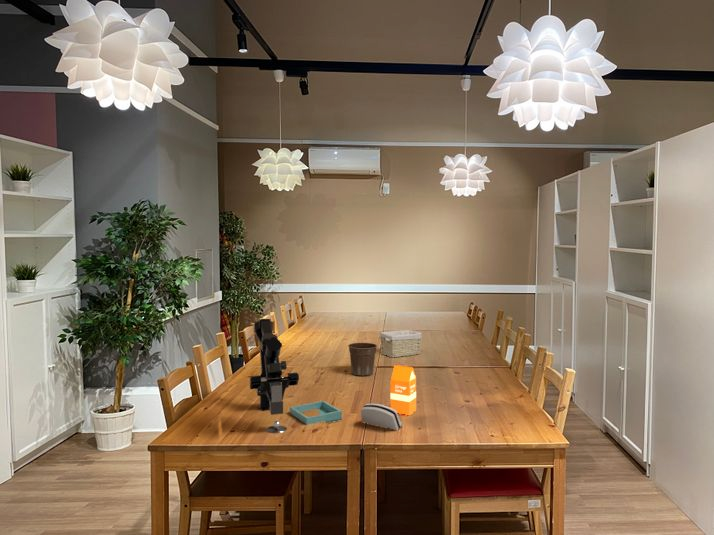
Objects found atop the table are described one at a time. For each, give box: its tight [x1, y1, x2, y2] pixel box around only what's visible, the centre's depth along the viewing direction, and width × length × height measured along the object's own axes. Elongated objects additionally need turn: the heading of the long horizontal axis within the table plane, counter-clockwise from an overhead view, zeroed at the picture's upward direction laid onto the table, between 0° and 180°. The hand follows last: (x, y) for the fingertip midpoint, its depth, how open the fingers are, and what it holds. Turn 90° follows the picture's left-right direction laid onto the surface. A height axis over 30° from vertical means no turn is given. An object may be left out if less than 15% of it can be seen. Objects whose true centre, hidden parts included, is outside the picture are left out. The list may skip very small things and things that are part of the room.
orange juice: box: [390, 364, 417, 416], centre depth 214 cm, size 8×9×20 cm
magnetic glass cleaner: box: [360, 403, 404, 431], centre depth 198 cm, size 17×5×10 cm, turn 57°
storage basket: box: [379, 329, 423, 359], centre depth 324 cm, size 24×16×15 cm
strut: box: [269, 382, 284, 416], centre depth 190 cm, size 5×5×11 cm
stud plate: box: [265, 420, 288, 434], centre depth 190 cm, size 8×8×5 cm
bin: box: [289, 400, 343, 426], centre depth 206 cm, size 16×16×4 cm
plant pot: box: [347, 342, 378, 377], centre depth 276 cm, size 16×16×16 cm
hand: (276, 400), depth 188 cm, fingers closed on strut, 4 cm apart
